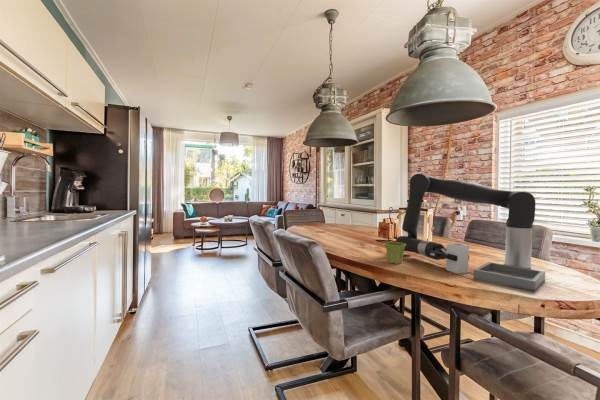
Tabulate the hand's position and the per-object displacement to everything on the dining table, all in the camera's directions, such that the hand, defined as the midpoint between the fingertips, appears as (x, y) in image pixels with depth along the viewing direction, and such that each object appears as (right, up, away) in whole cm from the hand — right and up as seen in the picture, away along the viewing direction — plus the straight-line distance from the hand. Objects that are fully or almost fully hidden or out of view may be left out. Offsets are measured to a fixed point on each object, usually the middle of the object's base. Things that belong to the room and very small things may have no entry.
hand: (462, 258), depth 114 cm
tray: (+13, -7, -8) cm, 16 cm away
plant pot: (-22, -6, +16) cm, 28 cm away
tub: (-1, -6, +3) cm, 7 cm away
